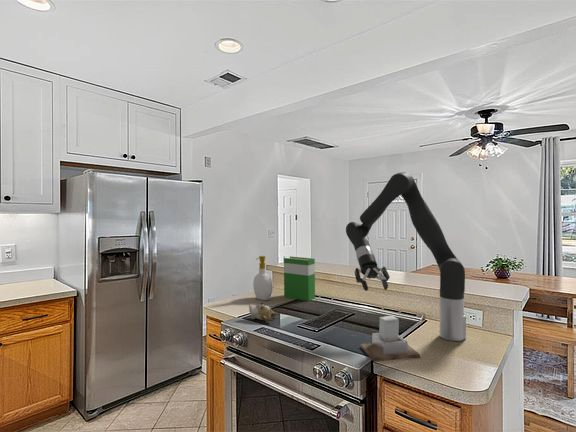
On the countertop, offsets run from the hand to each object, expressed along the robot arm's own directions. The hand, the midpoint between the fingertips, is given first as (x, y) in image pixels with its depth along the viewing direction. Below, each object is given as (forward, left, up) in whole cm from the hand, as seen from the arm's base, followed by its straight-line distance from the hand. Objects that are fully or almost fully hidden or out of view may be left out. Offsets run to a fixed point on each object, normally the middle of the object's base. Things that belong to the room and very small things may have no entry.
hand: (376, 289), depth 146 cm
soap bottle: (+43, -70, -21) cm, 85 cm away
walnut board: (+1, +14, -21) cm, 25 cm away
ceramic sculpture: (+45, -33, -21) cm, 60 cm away
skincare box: (+1, +13, -20) cm, 24 cm away
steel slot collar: (+1, +14, -20) cm, 24 cm away
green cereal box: (+20, -70, -21) cm, 76 cm away
